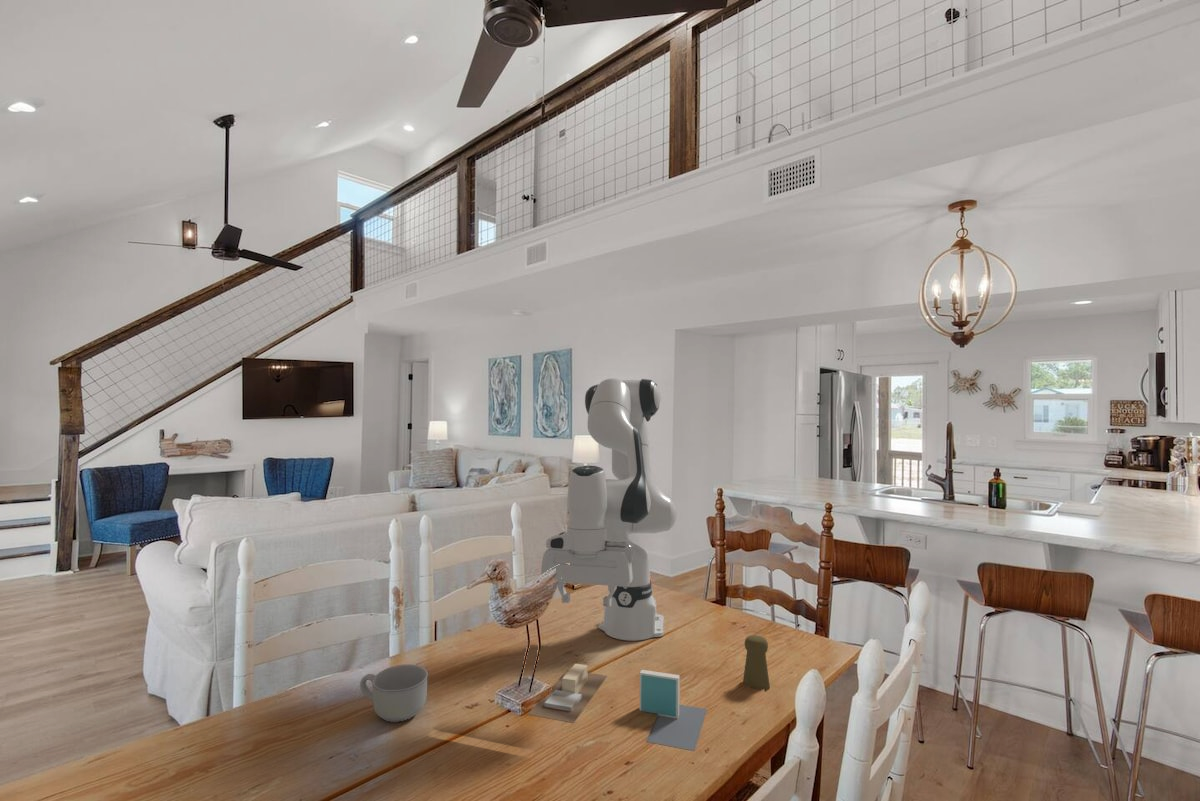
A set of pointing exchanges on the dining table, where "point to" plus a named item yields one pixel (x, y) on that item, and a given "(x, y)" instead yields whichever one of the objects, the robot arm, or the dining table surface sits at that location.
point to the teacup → (397, 691)
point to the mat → (678, 728)
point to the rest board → (571, 716)
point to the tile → (660, 693)
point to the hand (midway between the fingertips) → (586, 603)
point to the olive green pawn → (756, 663)
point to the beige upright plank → (569, 689)
